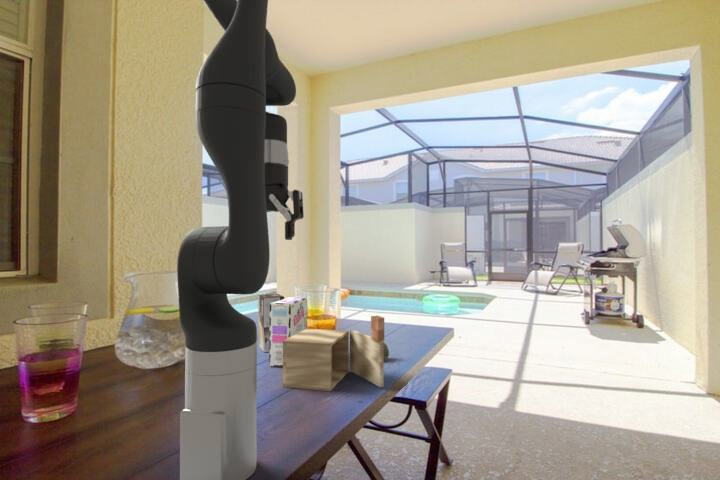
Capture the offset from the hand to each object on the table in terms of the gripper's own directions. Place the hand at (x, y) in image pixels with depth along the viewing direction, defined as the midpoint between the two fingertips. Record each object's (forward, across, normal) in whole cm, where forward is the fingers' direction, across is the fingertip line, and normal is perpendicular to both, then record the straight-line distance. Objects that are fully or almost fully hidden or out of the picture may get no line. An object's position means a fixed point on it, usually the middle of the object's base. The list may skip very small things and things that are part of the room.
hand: (270, 239), depth 87 cm
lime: (+32, +18, +29) cm, 47 cm away
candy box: (+32, -6, +23) cm, 40 cm away
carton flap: (+32, +18, +12) cm, 38 cm away
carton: (+32, +7, +10) cm, 34 cm away
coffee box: (+32, -17, +34) cm, 50 cm away
